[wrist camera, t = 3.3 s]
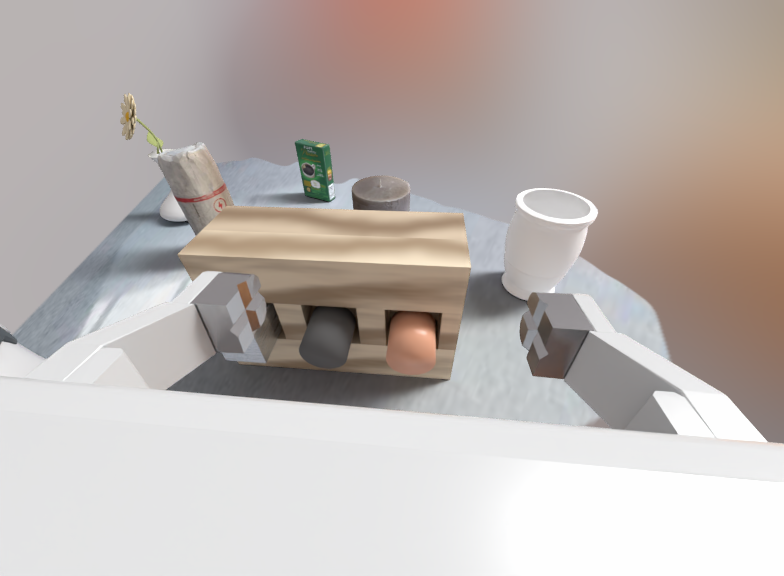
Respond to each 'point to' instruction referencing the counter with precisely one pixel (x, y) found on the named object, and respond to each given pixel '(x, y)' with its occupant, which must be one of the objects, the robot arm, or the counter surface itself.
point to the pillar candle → (381, 194)
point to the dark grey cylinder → (328, 337)
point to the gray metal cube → (260, 340)
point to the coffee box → (316, 169)
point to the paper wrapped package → (195, 184)
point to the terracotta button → (412, 342)
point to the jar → (544, 239)
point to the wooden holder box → (344, 273)
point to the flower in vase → (170, 205)
